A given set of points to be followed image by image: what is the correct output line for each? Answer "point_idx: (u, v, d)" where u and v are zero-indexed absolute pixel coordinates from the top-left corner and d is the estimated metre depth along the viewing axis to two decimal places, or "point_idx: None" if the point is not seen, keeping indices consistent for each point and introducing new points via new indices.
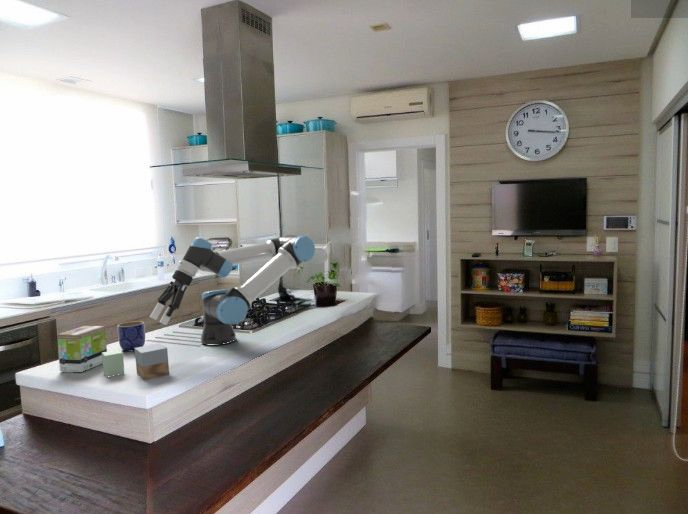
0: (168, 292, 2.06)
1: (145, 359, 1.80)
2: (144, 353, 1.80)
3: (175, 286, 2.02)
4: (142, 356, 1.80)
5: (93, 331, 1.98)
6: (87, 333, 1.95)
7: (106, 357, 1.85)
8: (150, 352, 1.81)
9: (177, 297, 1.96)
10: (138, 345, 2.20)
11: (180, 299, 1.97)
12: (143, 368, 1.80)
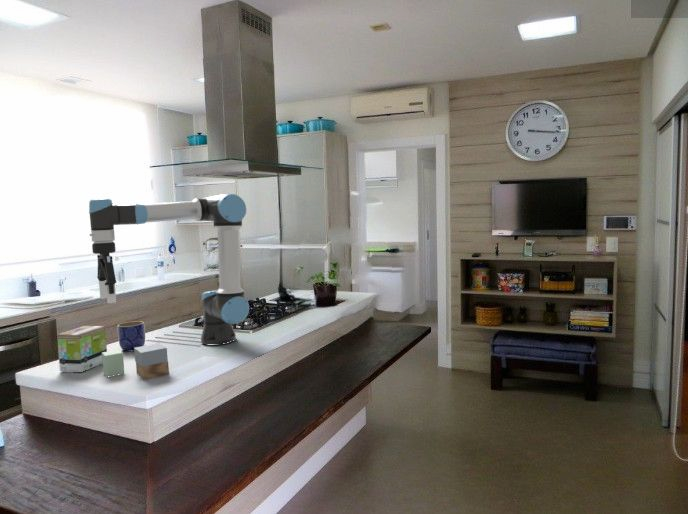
0: (100, 268, 1.88)
1: (145, 359, 1.80)
2: (144, 353, 1.80)
3: (101, 260, 1.83)
4: (142, 356, 1.80)
5: (93, 331, 1.98)
6: (87, 333, 1.95)
7: (106, 357, 1.85)
8: (150, 352, 1.81)
9: (108, 271, 1.78)
10: (138, 345, 2.20)
11: (112, 272, 1.79)
12: (143, 368, 1.80)
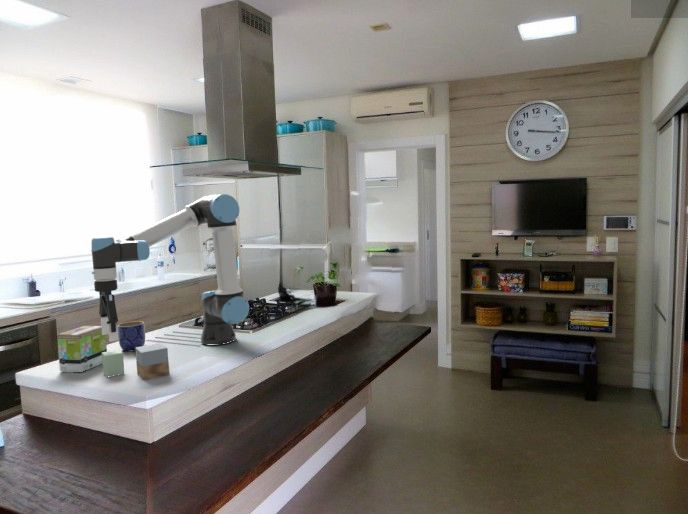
0: (102, 305, 1.89)
1: (145, 358, 1.80)
2: (144, 353, 1.80)
3: (103, 298, 1.84)
4: (142, 356, 1.80)
5: (93, 331, 1.98)
6: (87, 333, 1.95)
7: (106, 357, 1.85)
8: (150, 352, 1.81)
9: (109, 310, 1.79)
10: (138, 345, 2.20)
11: (114, 310, 1.80)
12: (143, 368, 1.80)
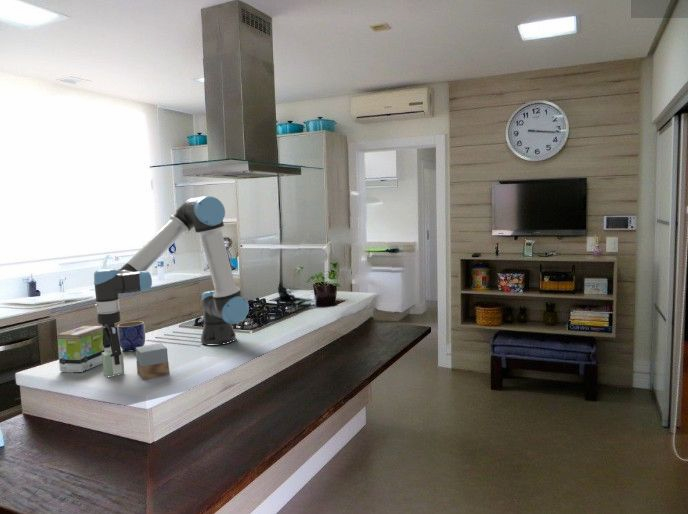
0: (106, 336, 1.90)
1: (144, 359, 1.80)
2: (143, 353, 1.80)
3: (106, 330, 1.85)
4: (141, 356, 1.80)
5: (93, 331, 1.98)
6: (87, 333, 1.95)
7: (106, 357, 1.85)
8: (150, 352, 1.81)
9: (113, 343, 1.81)
10: (138, 345, 2.20)
11: (118, 343, 1.81)
12: (143, 368, 1.80)
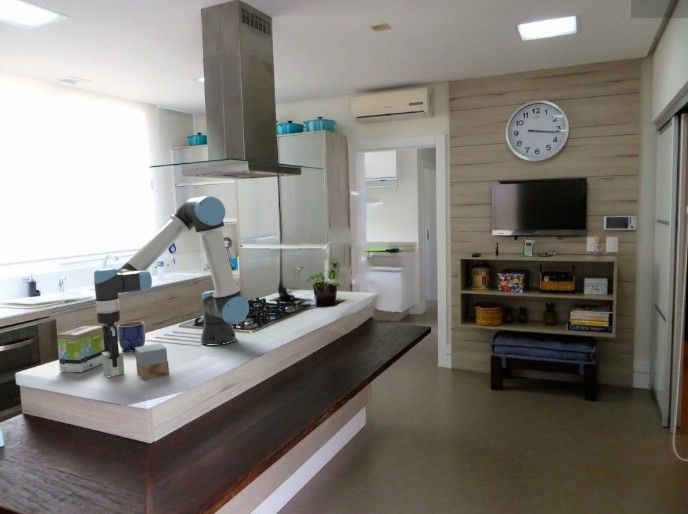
0: None
1: (144, 359, 1.80)
2: (143, 353, 1.80)
3: (106, 331, 1.85)
4: (141, 356, 1.80)
5: (93, 331, 1.98)
6: (87, 333, 1.95)
7: (106, 357, 1.85)
8: (149, 352, 1.81)
9: (112, 346, 1.82)
10: (138, 345, 2.20)
11: (116, 346, 1.83)
12: (143, 368, 1.80)
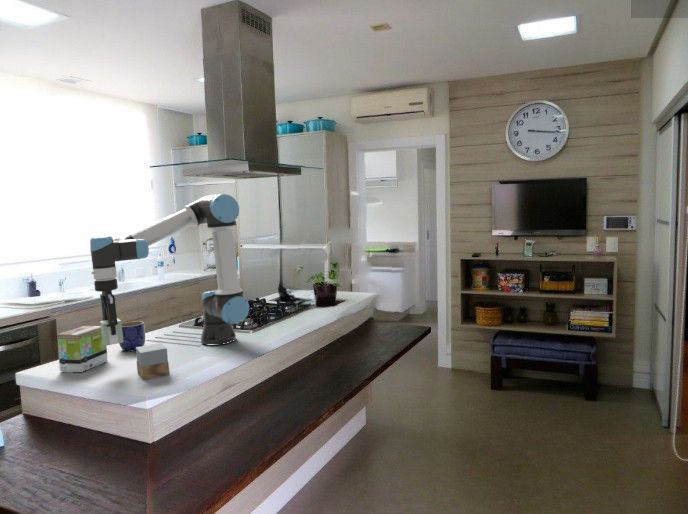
0: None
1: (144, 359, 1.80)
2: (143, 353, 1.80)
3: (104, 298, 1.84)
4: (141, 356, 1.80)
5: (93, 331, 1.98)
6: (87, 333, 1.95)
7: (104, 325, 1.84)
8: (149, 352, 1.81)
9: (110, 314, 1.81)
10: (138, 345, 2.20)
11: (114, 314, 1.82)
12: (143, 368, 1.80)
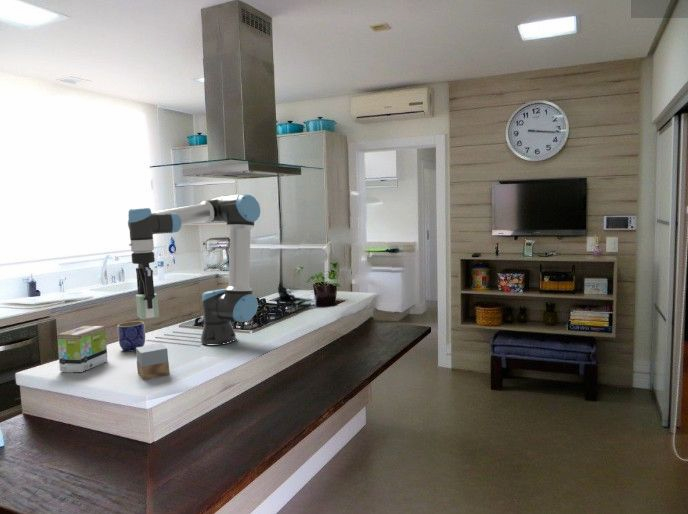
0: (140, 279, 1.84)
1: (145, 359, 1.80)
2: (144, 353, 1.80)
3: (141, 271, 1.80)
4: (142, 356, 1.80)
5: (93, 331, 1.98)
6: (87, 333, 1.95)
7: (141, 298, 1.80)
8: (150, 352, 1.81)
9: (147, 286, 1.78)
10: (138, 345, 2.20)
11: (152, 287, 1.78)
12: (143, 368, 1.80)
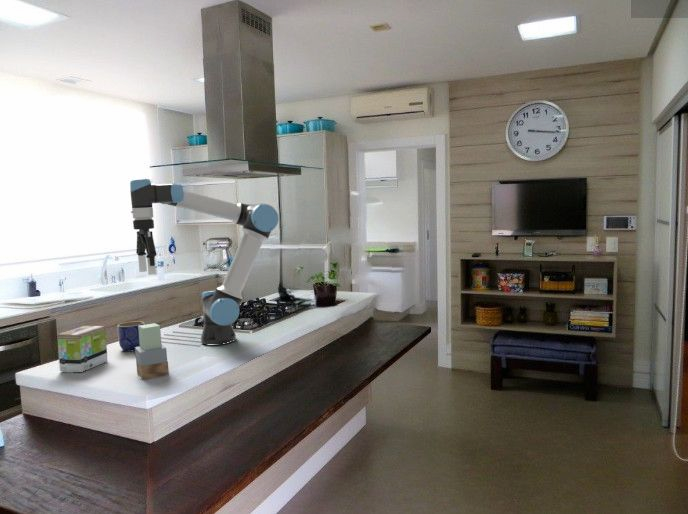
0: (140, 243, 2.04)
1: (144, 358, 1.81)
2: (143, 353, 1.80)
3: (142, 235, 1.99)
4: (141, 356, 1.80)
5: (93, 331, 1.98)
6: (87, 333, 1.95)
7: (144, 330, 1.81)
8: (149, 352, 1.81)
9: (149, 245, 1.95)
10: (138, 345, 2.20)
11: (153, 245, 1.95)
12: (142, 368, 1.80)
